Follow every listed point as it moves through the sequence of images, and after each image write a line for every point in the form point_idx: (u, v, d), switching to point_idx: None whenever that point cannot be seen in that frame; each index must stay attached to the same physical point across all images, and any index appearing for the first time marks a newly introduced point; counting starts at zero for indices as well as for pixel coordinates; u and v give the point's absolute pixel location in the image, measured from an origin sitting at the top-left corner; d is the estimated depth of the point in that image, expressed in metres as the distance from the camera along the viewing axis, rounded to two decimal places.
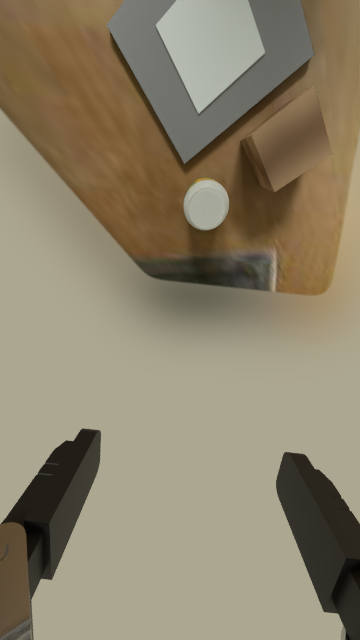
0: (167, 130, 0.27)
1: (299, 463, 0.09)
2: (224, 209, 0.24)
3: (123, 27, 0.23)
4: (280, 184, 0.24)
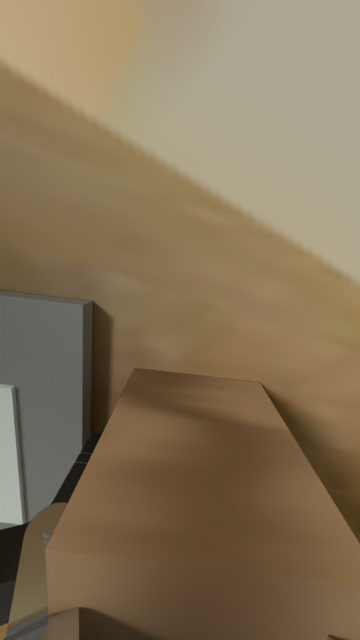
0: None
1: None
2: None
3: None
4: None
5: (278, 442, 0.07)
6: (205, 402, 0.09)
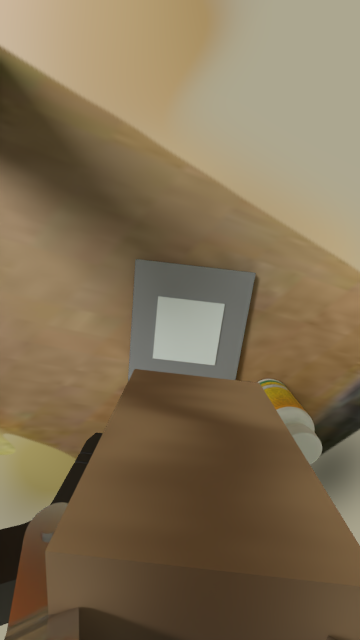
0: None
1: None
2: (315, 437, 0.21)
3: None
4: None
5: (278, 443, 0.07)
6: (205, 403, 0.09)
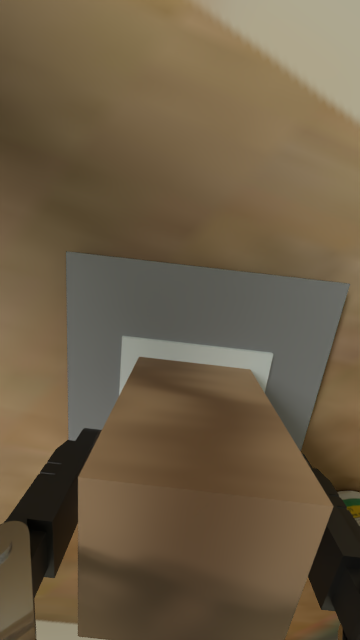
0: None
1: None
2: None
3: None
4: (271, 639, 0.07)
5: (262, 414, 0.08)
6: (201, 384, 0.10)
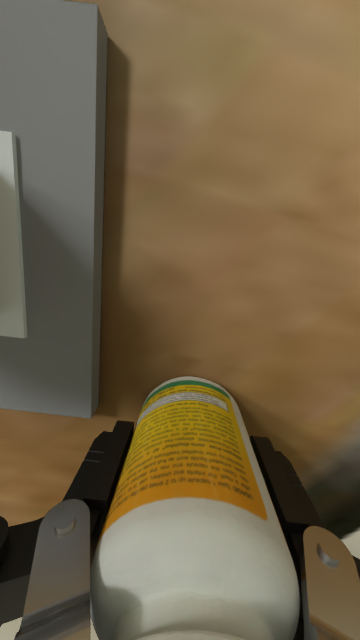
0: (14, 406, 0.11)
1: (261, 445, 0.09)
2: None
3: None
4: None
5: None
6: None
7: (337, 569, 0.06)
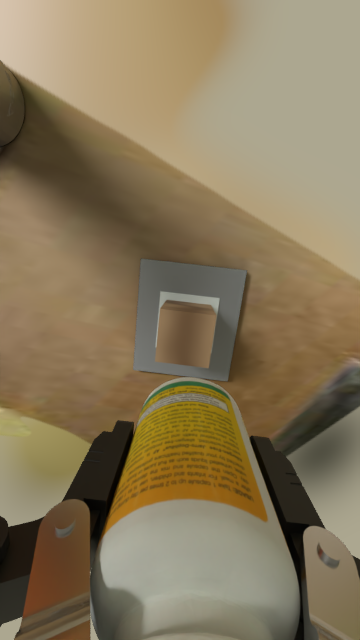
0: (201, 377, 0.33)
1: (261, 445, 0.09)
2: None
3: (141, 362, 0.33)
4: (206, 360, 0.25)
5: (208, 309, 0.27)
6: (190, 305, 0.28)
7: (337, 569, 0.06)
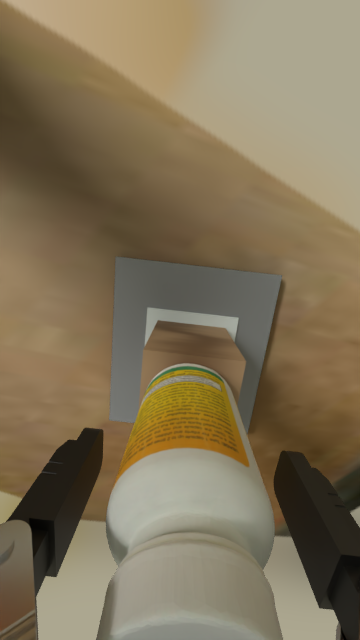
0: None
1: (296, 461, 0.09)
2: (253, 639, 0.04)
3: (121, 410, 0.22)
4: None
5: (225, 341, 0.16)
6: (195, 331, 0.18)
7: None
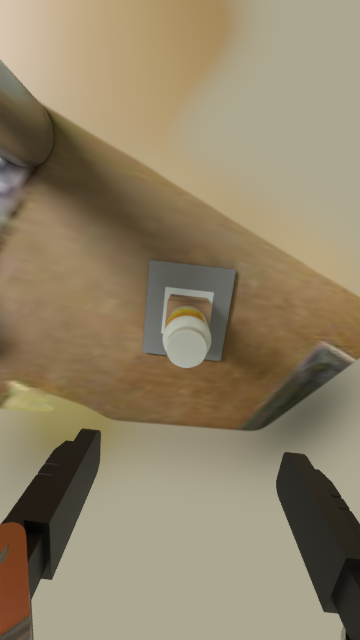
0: None
1: (299, 463, 0.09)
2: (198, 335, 0.21)
3: (149, 346, 0.40)
4: None
5: (205, 301, 0.33)
6: (190, 297, 0.35)
7: None
